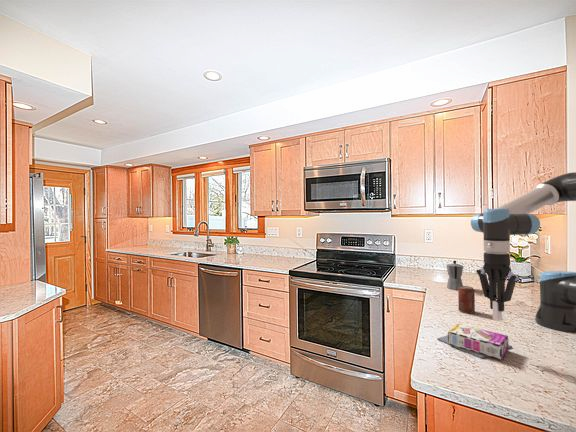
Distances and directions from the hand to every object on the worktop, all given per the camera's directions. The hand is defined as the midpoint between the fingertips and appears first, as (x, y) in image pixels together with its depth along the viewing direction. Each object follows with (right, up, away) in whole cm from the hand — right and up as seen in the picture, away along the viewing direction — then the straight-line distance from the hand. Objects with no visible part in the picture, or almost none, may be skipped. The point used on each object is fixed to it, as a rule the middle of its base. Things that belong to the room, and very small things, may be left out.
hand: (497, 319), depth 101 cm
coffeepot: (+34, -11, +84) cm, 91 cm away
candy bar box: (+1, -8, -3) cm, 9 cm away
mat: (-4, -11, +7) cm, 14 cm away
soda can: (+15, -11, +41) cm, 45 cm away
